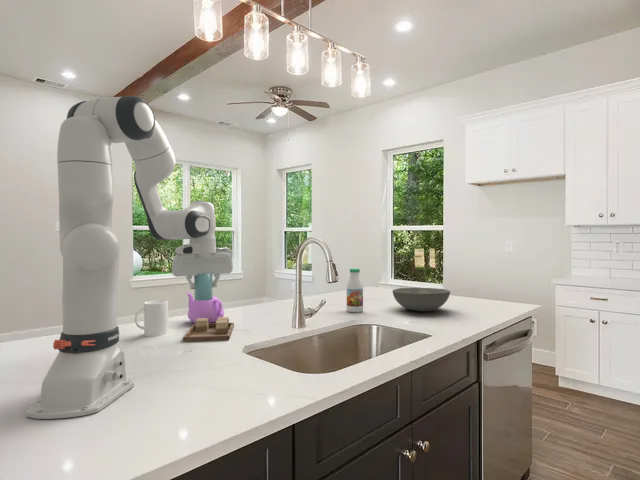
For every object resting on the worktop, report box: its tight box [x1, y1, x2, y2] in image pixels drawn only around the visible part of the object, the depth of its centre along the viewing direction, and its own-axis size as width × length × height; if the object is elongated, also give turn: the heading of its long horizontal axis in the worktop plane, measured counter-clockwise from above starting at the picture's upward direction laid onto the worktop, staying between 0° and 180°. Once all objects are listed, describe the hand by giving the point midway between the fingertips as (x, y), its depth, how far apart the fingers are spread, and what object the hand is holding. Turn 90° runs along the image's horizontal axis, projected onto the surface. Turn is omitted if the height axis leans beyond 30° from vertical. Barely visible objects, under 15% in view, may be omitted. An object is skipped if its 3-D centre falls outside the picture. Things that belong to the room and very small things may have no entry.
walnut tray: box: [182, 322, 235, 343], centre depth 144 cm, size 20×15×2 cm
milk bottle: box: [346, 267, 364, 313], centre depth 186 cm, size 8×8×20 cm
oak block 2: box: [218, 316, 230, 330], centre depth 151 cm, size 4×4×4 cm
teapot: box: [185, 291, 225, 324], centre depth 163 cm, size 20×14×12 cm
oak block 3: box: [215, 320, 228, 334], centre depth 146 cm, size 4×4×4 cm
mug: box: [134, 299, 169, 337], centre depth 144 cm, size 12×8×12 cm
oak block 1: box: [196, 318, 208, 332], centre depth 149 cm, size 4×4×4 cm
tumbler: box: [193, 273, 214, 301], centre depth 138 cm, size 6×6×9 cm
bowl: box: [392, 287, 451, 312], centre depth 188 cm, size 26×26×10 cm
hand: (203, 288), depth 138 cm, fingers closed on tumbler, 6 cm apart
